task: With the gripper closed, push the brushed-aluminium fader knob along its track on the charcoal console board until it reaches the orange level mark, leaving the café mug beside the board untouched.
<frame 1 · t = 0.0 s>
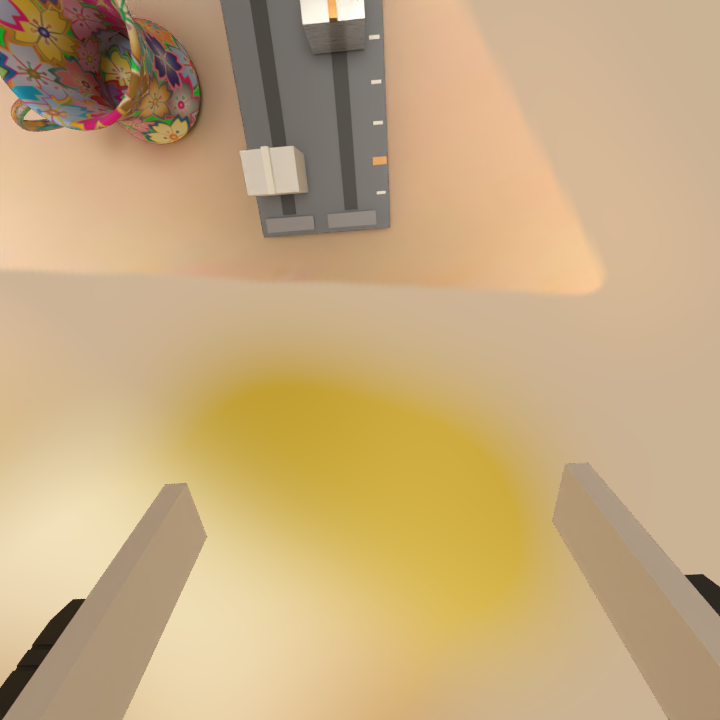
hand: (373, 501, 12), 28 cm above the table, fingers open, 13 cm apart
fader: (333, 7, 23), point 6 cm above the table, slide at 2.0 cm
mug: (145, 99, 30), on the table
console: (316, 110, 30), on the table
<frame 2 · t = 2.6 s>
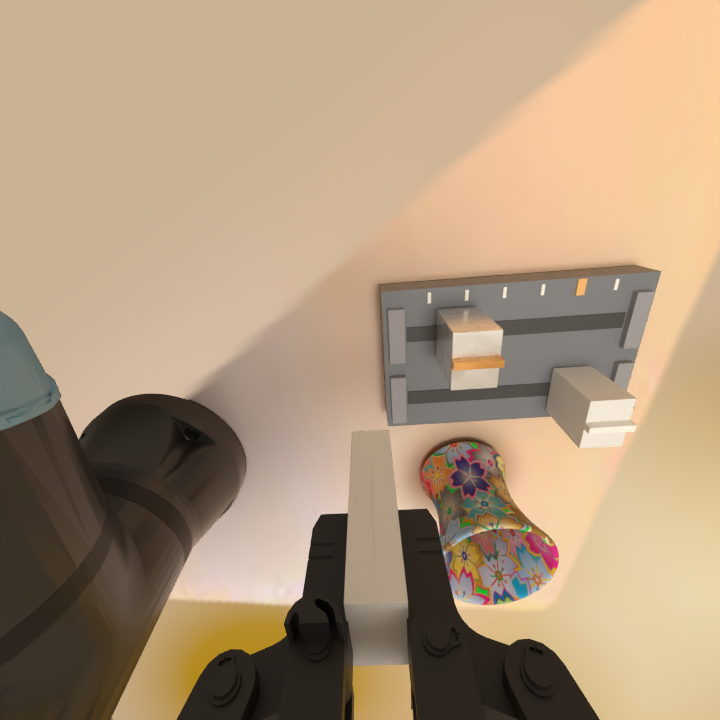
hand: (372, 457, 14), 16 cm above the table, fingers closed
fader: (466, 347, 24), point 6 cm above the table, slide at 2.0 cm
mug: (465, 476, 36), on the table
console: (498, 344, 30), on the table
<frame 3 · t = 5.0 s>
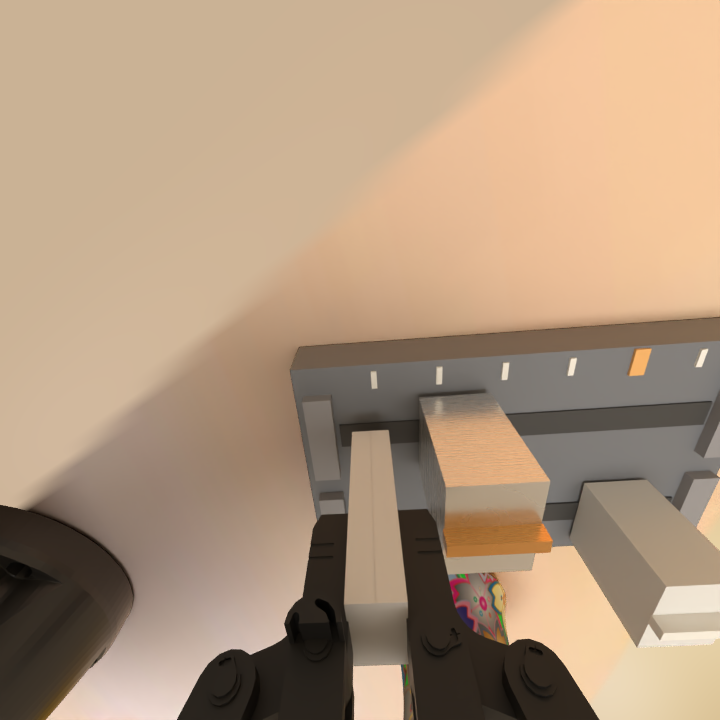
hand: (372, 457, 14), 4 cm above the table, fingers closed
fader: (471, 480, 13), point 6 cm above the table, slide at 3.4 cm, touching gripper
mug: (448, 597, 26), on the table
console: (495, 434, 19), on the table
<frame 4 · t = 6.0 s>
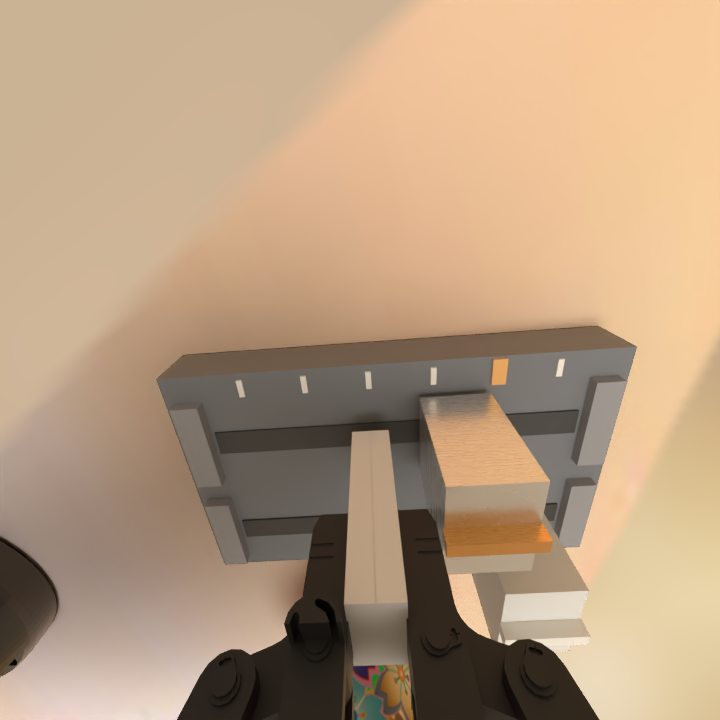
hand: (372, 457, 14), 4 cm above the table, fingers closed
fader: (471, 480, 13), point 6 cm above the table, slide at 9.1 cm, touching gripper
mug: (371, 601, 26), on the table
console: (391, 440, 19), on the table
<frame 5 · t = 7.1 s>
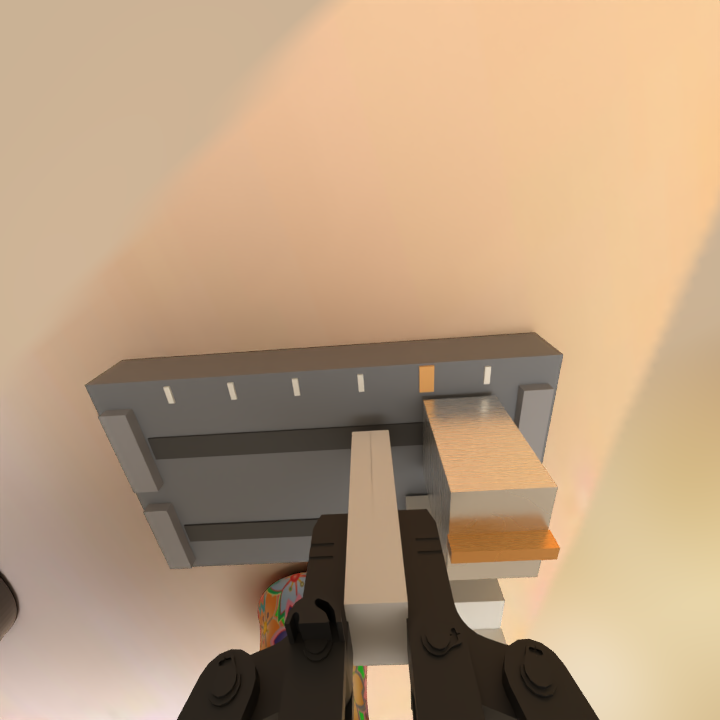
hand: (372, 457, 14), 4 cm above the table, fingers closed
fader: (476, 484, 13), point 6 cm above the table, slide at 12.3 cm, touching gripper
mug: (331, 605, 26), on the table
console: (336, 446, 19), on the table
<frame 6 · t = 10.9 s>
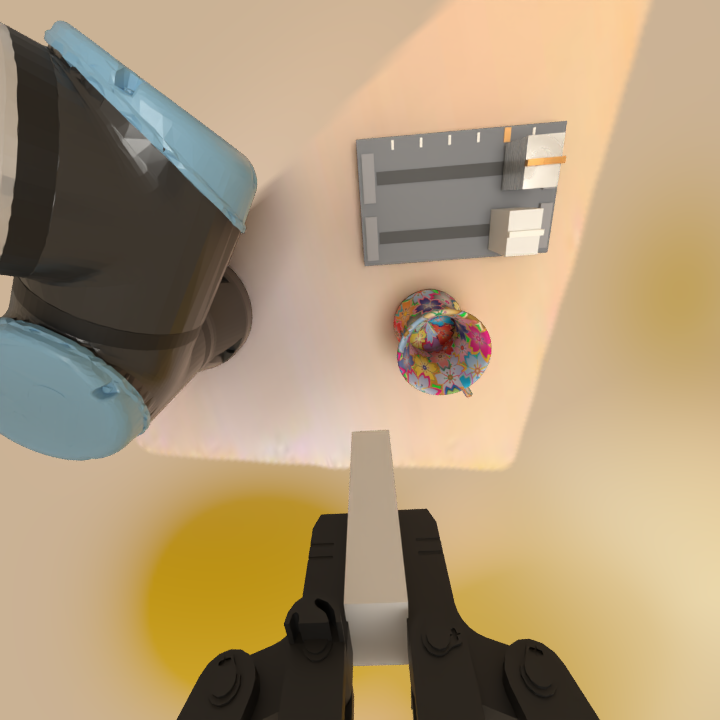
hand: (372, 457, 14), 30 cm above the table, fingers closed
fader: (531, 164, 31), point 6 cm above the table, slide at 12.3 cm
mug: (431, 328, 44), on the table
console: (451, 199, 38), on the table
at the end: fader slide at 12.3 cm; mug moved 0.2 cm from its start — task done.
